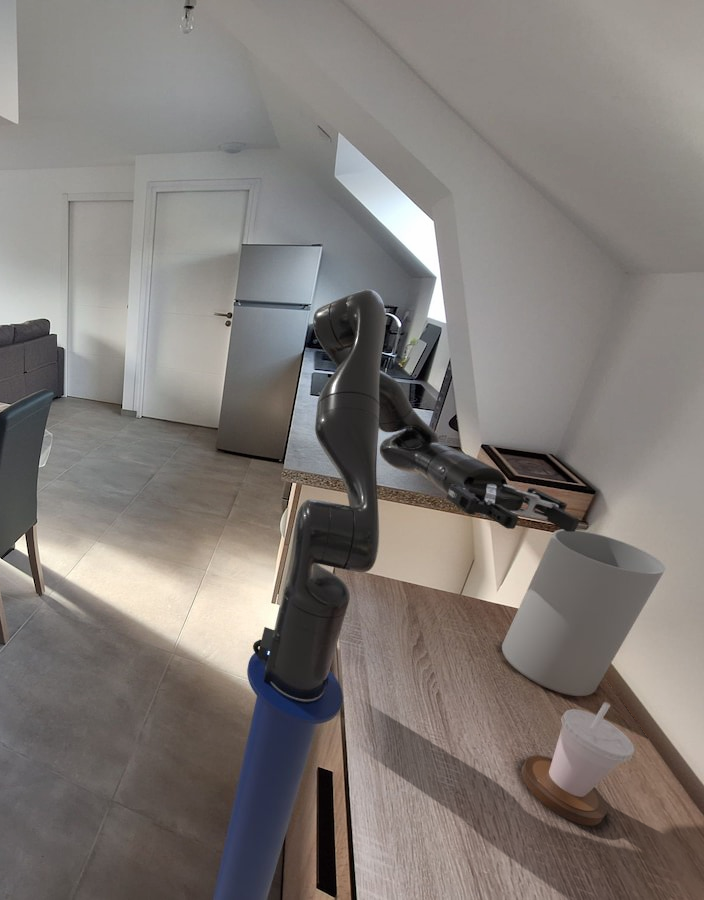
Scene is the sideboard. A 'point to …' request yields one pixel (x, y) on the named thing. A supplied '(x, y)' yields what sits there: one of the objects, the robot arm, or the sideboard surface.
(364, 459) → the robot arm
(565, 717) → the smoothie
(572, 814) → the coaster
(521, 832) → the sideboard surface
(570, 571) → the cylinder vase
